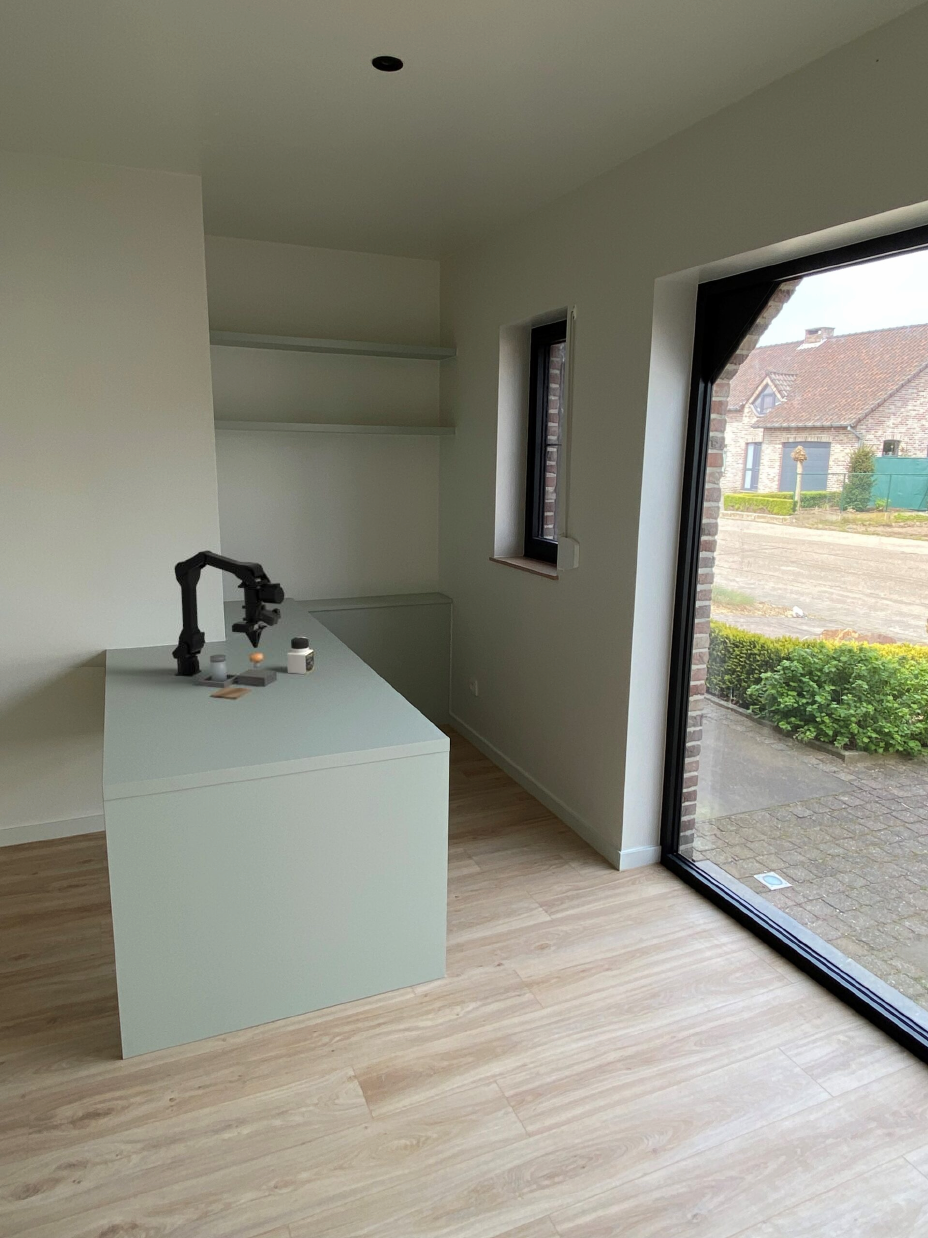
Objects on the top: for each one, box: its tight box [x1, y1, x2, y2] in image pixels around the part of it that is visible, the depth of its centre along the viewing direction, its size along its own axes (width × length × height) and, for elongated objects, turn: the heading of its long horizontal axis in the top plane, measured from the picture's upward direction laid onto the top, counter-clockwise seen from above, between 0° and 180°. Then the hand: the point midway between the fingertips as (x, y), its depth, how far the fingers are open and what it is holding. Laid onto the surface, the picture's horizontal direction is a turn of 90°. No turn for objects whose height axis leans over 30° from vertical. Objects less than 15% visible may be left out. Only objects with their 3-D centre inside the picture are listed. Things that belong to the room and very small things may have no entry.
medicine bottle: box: [286, 636, 315, 675], centre depth 280 cm, size 7×7×12 cm
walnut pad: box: [210, 686, 252, 700], centre depth 256 cm, size 9×9×1 cm
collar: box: [197, 673, 239, 689], centre depth 268 cm, size 10×10×2 cm
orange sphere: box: [248, 652, 264, 669], centre depth 267 cm, size 4×4×4 cm
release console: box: [237, 668, 278, 687], centre depth 268 cm, size 10×8×3 cm
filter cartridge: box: [209, 654, 228, 682], centre depth 267 cm, size 5×5×9 cm
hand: (255, 647), depth 266 cm, fingers closed
